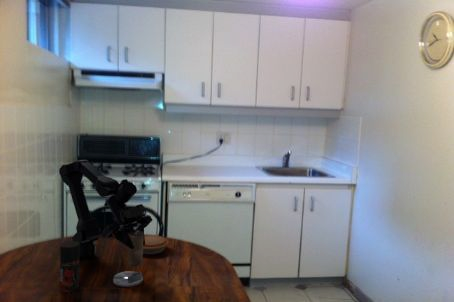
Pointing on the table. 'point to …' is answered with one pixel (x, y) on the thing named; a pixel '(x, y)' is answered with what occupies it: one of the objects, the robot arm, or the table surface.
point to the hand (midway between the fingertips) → (138, 246)
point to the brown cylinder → (136, 248)
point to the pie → (154, 244)
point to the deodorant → (69, 266)
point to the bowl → (128, 278)
